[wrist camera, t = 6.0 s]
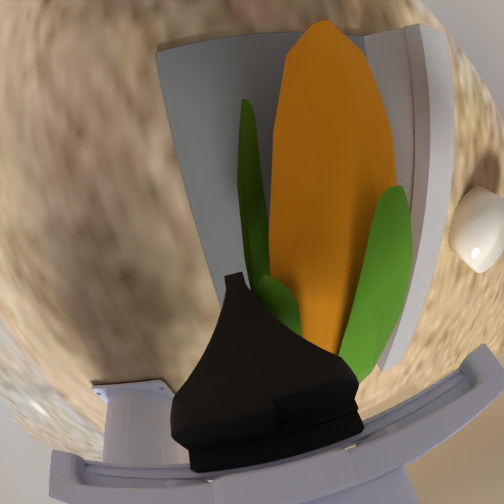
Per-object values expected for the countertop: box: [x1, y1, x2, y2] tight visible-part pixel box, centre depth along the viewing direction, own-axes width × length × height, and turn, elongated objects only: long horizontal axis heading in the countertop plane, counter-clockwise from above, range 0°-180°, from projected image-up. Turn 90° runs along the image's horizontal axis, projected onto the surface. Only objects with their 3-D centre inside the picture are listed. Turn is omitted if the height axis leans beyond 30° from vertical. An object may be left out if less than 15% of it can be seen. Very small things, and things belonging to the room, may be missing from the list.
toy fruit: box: [237, 19, 413, 383], centre depth 12 cm, size 7×8×20 cm
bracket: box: [155, 24, 454, 372], centre depth 14 cm, size 22×12×5 cm, turn 9°
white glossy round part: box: [449, 186, 504, 273], centre depth 17 cm, size 7×7×4 cm
